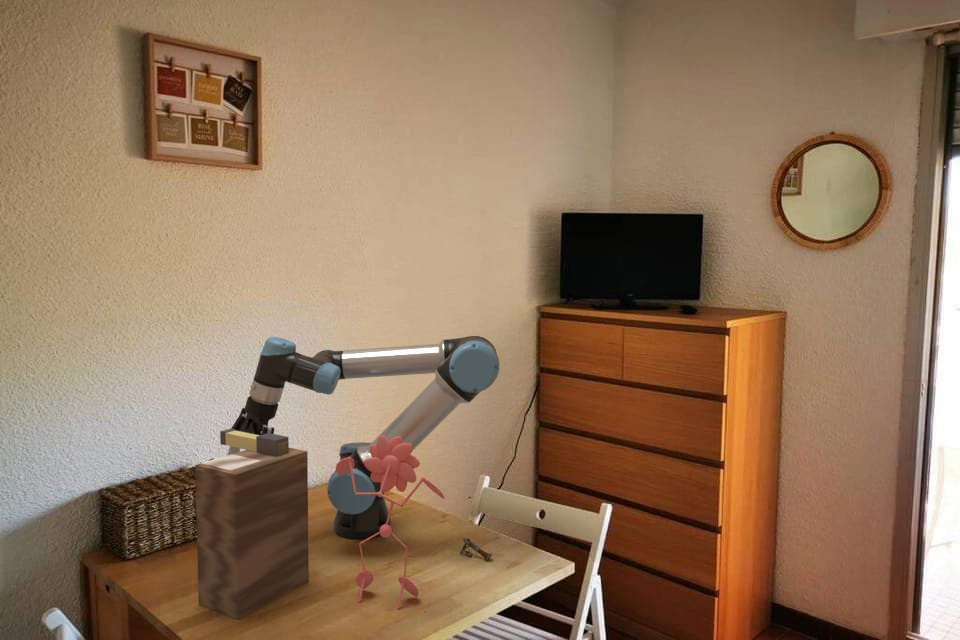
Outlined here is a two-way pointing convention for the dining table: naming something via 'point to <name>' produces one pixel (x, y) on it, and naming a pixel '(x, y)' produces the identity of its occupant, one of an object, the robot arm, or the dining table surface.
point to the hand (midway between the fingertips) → (239, 479)
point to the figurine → (391, 470)
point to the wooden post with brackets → (476, 548)
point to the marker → (256, 442)
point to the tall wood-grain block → (251, 529)
